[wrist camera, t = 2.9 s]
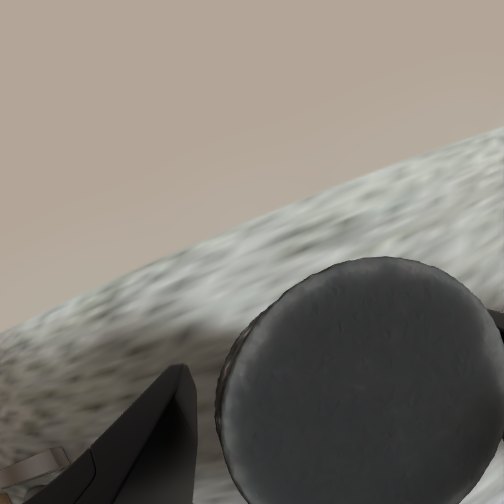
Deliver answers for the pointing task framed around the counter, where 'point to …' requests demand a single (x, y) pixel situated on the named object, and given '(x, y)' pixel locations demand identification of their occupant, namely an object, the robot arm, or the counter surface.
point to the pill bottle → (364, 390)
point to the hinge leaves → (32, 470)
